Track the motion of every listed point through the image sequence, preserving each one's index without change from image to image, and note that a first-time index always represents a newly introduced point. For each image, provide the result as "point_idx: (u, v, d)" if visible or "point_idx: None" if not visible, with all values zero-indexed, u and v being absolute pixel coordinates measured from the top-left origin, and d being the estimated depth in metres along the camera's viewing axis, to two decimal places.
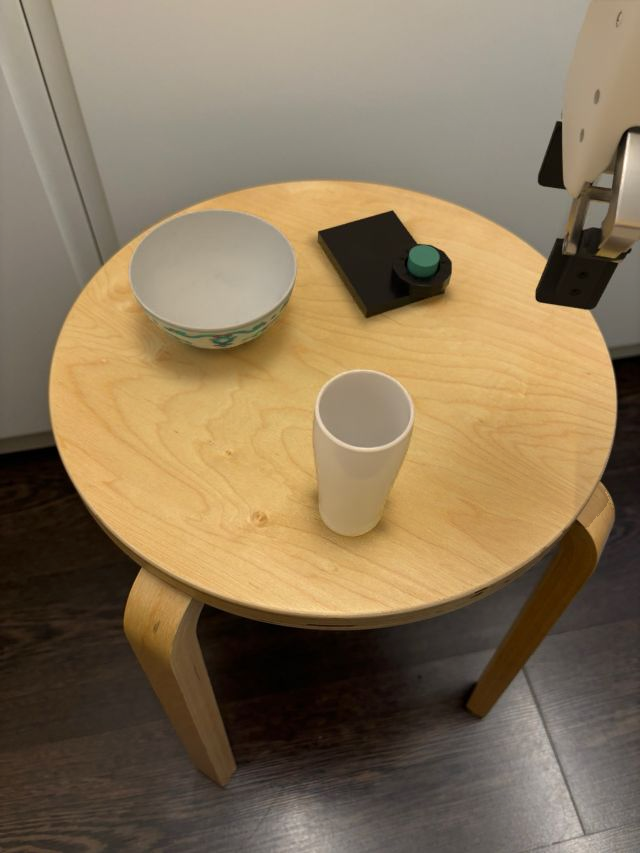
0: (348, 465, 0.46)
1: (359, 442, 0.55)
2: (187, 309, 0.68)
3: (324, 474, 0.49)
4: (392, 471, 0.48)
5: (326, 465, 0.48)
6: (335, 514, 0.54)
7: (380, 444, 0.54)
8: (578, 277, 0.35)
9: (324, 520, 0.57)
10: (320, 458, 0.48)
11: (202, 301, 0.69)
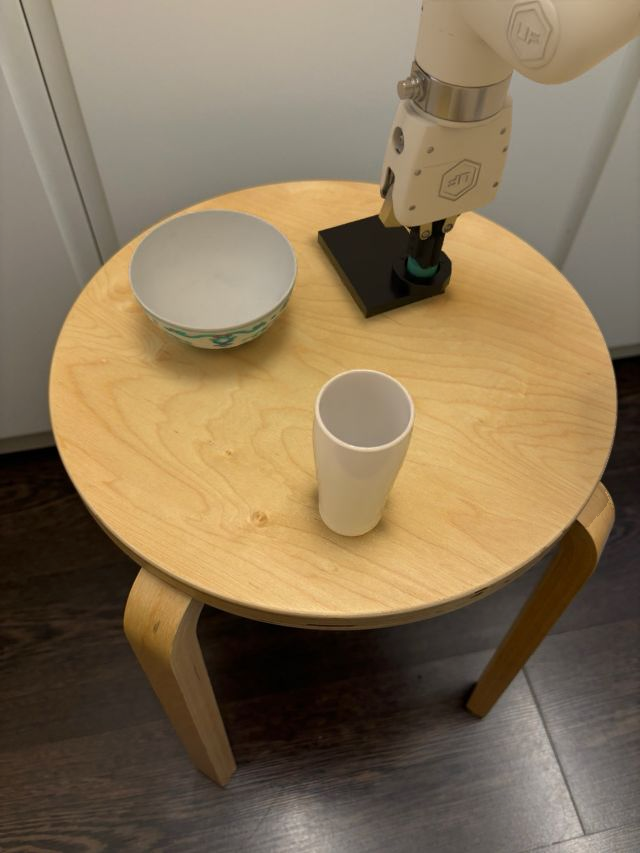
0: (348, 465, 0.46)
1: (359, 442, 0.55)
2: (187, 309, 0.68)
3: (324, 474, 0.49)
4: (392, 471, 0.48)
5: (326, 465, 0.48)
6: (335, 514, 0.54)
7: (380, 444, 0.54)
8: (413, 239, 0.67)
9: (324, 520, 0.57)
10: (320, 458, 0.48)
11: (202, 301, 0.69)
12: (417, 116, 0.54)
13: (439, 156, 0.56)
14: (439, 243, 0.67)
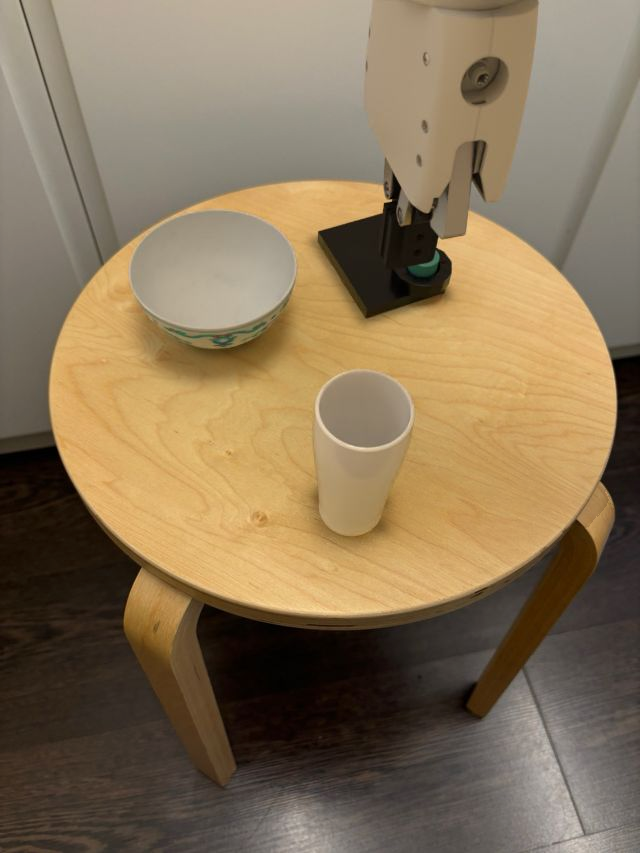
0: (348, 465, 0.46)
1: (359, 442, 0.55)
2: (187, 309, 0.68)
3: (324, 474, 0.49)
4: (392, 471, 0.48)
5: (326, 465, 0.48)
6: (335, 514, 0.54)
7: (380, 444, 0.54)
8: (416, 239, 0.42)
9: (324, 520, 0.57)
10: (320, 458, 0.48)
11: (202, 301, 0.69)
12: (509, 8, 0.29)
13: None
14: None
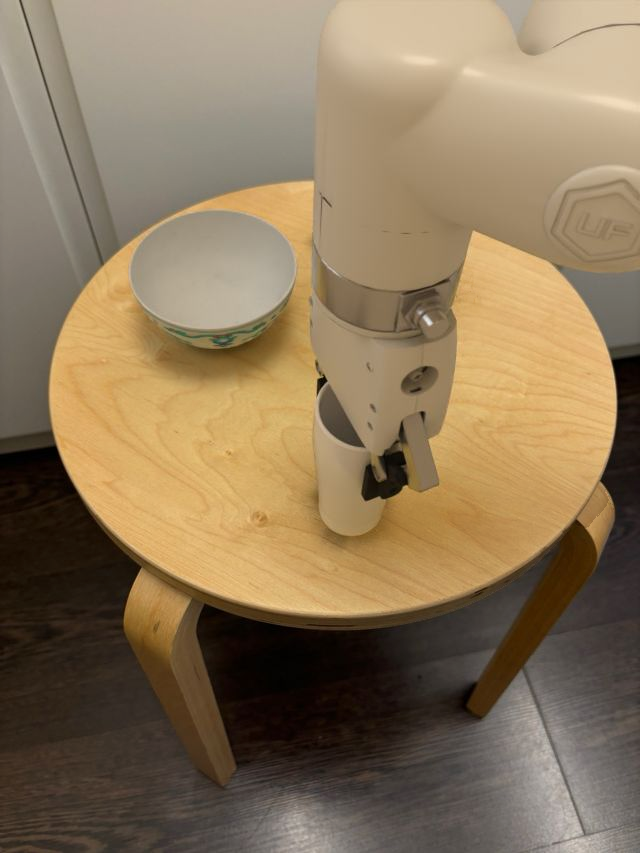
0: (348, 465, 0.46)
1: (359, 442, 0.55)
2: (187, 309, 0.68)
3: (324, 474, 0.49)
4: None
5: (326, 465, 0.48)
6: (335, 514, 0.54)
7: None
8: (391, 483, 0.46)
9: (324, 520, 0.57)
10: (320, 458, 0.48)
11: (202, 301, 0.69)
12: None
13: None
14: None
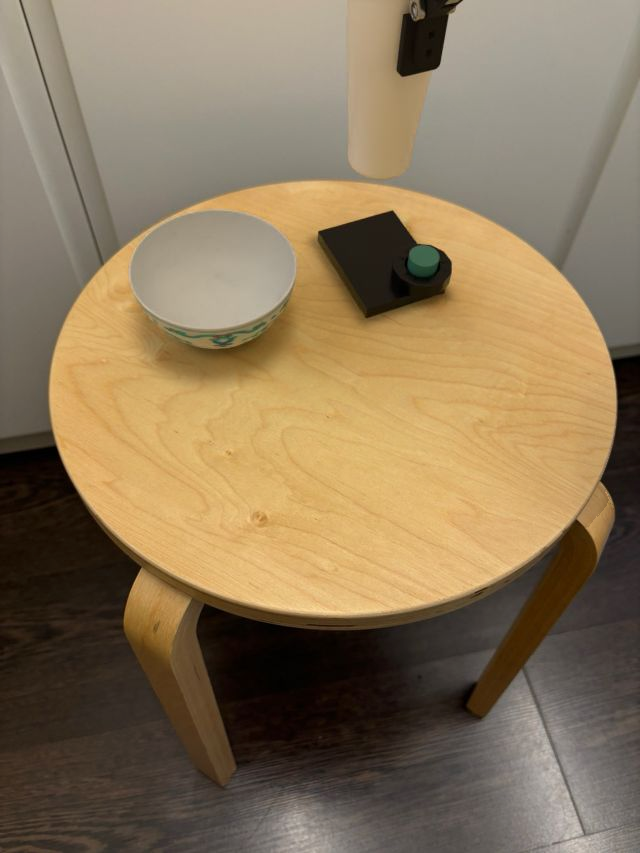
0: (384, 24, 0.46)
1: None
2: (187, 309, 0.68)
3: (358, 62, 0.50)
4: None
5: (361, 40, 0.48)
6: (366, 137, 0.54)
7: None
8: (428, 37, 0.46)
9: (354, 162, 0.57)
10: (355, 34, 0.48)
11: (202, 301, 0.69)
12: None
13: None
14: None
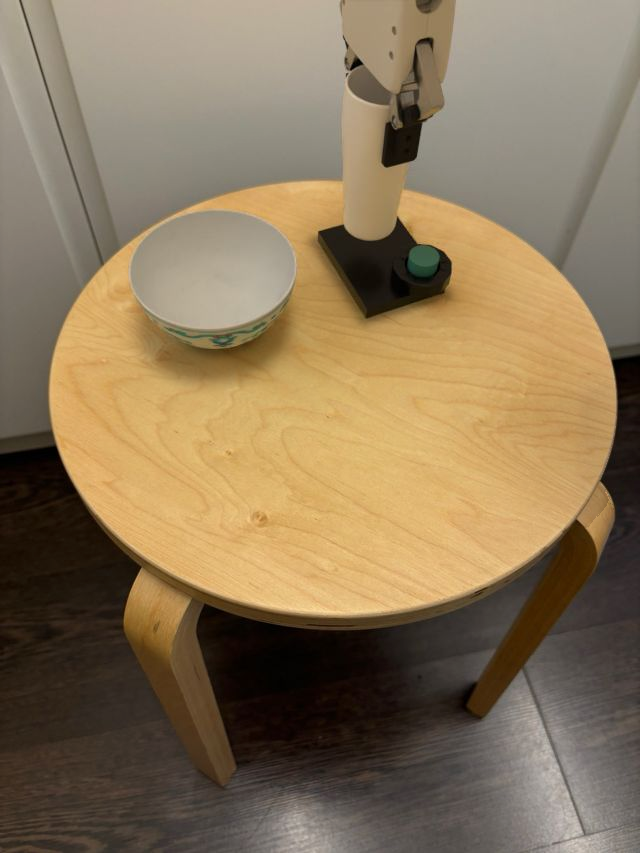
0: (371, 128, 0.58)
1: None
2: (187, 309, 0.68)
3: (351, 153, 0.61)
4: None
5: (353, 138, 0.60)
6: (358, 209, 0.66)
7: None
8: (406, 140, 0.58)
9: (348, 226, 0.69)
10: (348, 133, 0.60)
11: (202, 301, 0.69)
12: None
13: None
14: None
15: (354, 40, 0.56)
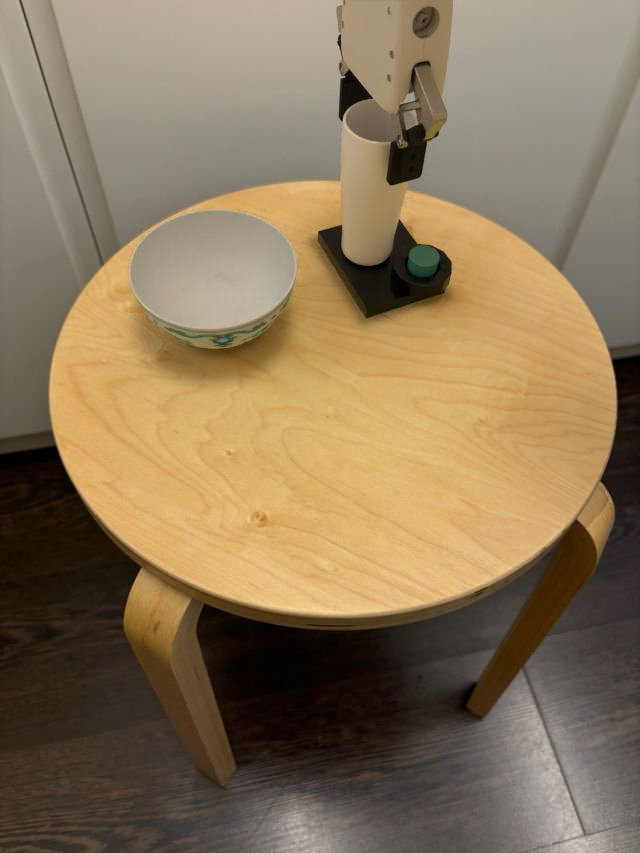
0: (368, 163, 0.61)
1: None
2: (187, 309, 0.68)
3: (349, 185, 0.64)
4: None
5: (351, 171, 0.63)
6: (356, 236, 0.69)
7: None
8: (411, 159, 0.58)
9: (346, 252, 0.72)
10: (346, 167, 0.63)
11: (202, 301, 0.69)
12: None
13: None
14: None
15: (353, 62, 0.57)
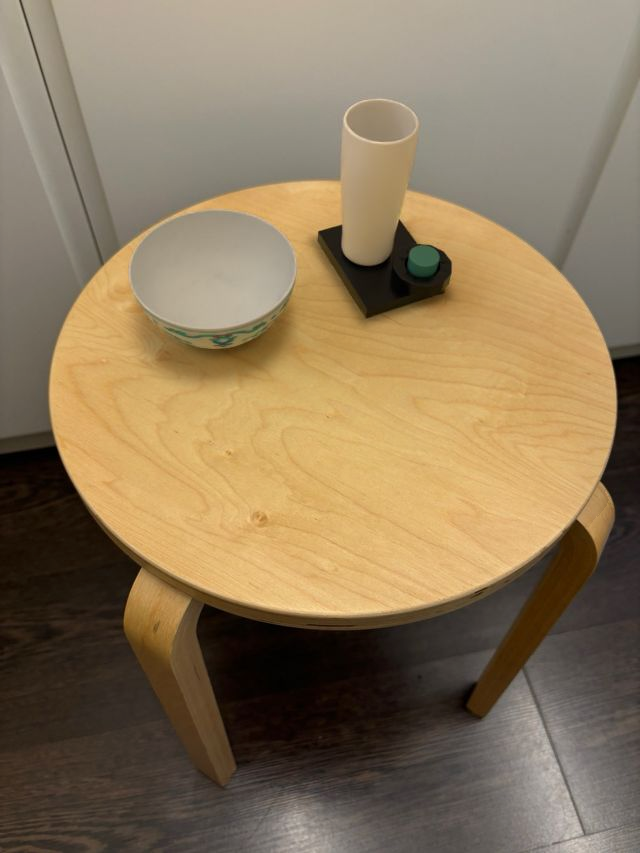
0: (368, 163, 0.61)
1: None
2: (187, 309, 0.68)
3: (349, 185, 0.64)
4: (401, 176, 0.63)
5: (351, 171, 0.63)
6: (356, 236, 0.69)
7: None
8: None
9: (346, 252, 0.72)
10: (346, 166, 0.63)
11: (202, 301, 0.69)
12: None
13: None
14: None
15: None
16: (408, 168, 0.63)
